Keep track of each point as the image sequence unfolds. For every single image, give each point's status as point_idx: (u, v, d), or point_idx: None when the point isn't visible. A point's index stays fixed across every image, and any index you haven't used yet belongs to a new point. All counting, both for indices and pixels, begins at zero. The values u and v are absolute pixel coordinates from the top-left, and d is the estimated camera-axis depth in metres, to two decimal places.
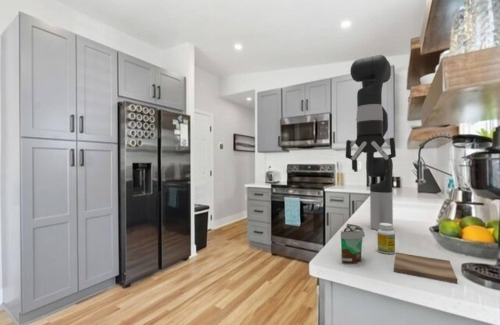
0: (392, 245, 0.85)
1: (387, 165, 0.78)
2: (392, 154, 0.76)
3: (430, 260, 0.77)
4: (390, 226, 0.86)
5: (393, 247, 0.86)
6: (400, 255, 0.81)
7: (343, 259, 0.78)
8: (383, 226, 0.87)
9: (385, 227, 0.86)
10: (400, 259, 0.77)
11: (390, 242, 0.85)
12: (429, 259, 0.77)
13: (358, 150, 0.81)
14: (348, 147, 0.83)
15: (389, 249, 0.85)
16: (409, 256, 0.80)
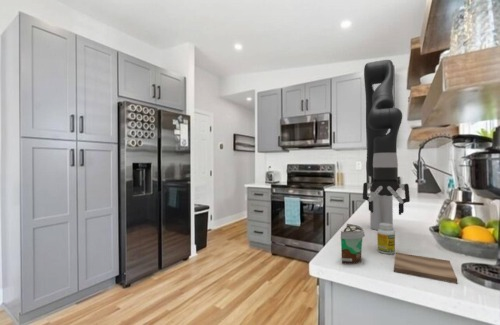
0: (392, 245, 0.85)
1: (402, 209, 0.85)
2: (407, 199, 0.84)
3: (430, 260, 0.77)
4: (390, 226, 0.86)
5: (393, 247, 0.86)
6: (400, 255, 0.81)
7: (343, 259, 0.78)
8: (383, 226, 0.87)
9: (385, 227, 0.86)
10: (400, 259, 0.77)
11: (390, 242, 0.85)
12: (429, 259, 0.77)
13: (375, 193, 0.88)
14: (365, 189, 0.90)
15: (389, 249, 0.85)
16: (409, 256, 0.80)
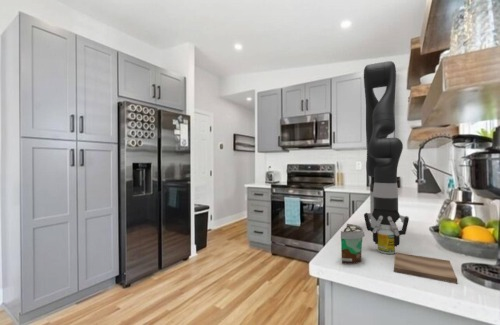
0: (392, 245, 0.85)
1: (398, 241, 0.85)
2: (402, 232, 0.84)
3: (430, 260, 0.77)
4: (390, 226, 0.86)
5: (393, 247, 0.86)
6: (400, 255, 0.81)
7: (343, 259, 0.78)
8: (383, 226, 0.87)
9: (385, 227, 0.86)
10: (400, 259, 0.77)
11: (390, 242, 0.85)
12: (429, 259, 0.77)
13: (377, 224, 0.88)
14: (367, 220, 0.90)
15: (389, 249, 0.85)
16: (409, 256, 0.80)
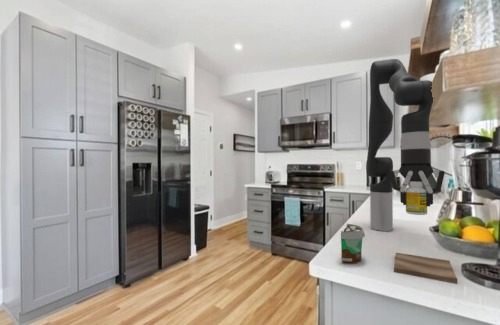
0: (424, 204, 0.73)
1: (431, 199, 0.73)
2: (437, 188, 0.72)
3: (430, 260, 0.77)
4: (421, 182, 0.74)
5: (425, 207, 0.73)
6: (400, 255, 0.81)
7: (343, 259, 0.78)
8: (412, 183, 0.74)
9: (415, 184, 0.74)
10: (400, 259, 0.77)
11: (422, 201, 0.73)
12: (429, 259, 0.77)
13: (405, 181, 0.75)
14: (393, 178, 0.78)
15: (421, 209, 0.73)
16: (409, 256, 0.80)
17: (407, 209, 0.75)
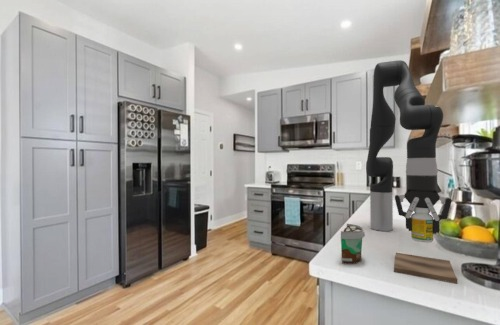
0: (430, 232, 0.72)
1: (437, 227, 0.72)
2: (443, 216, 0.71)
3: (430, 260, 0.77)
4: (428, 209, 0.72)
5: (432, 234, 0.72)
6: (400, 255, 0.81)
7: (343, 259, 0.78)
8: (419, 209, 0.73)
9: (422, 211, 0.72)
10: (400, 259, 0.77)
11: (429, 228, 0.72)
12: (429, 259, 0.77)
13: (411, 207, 0.74)
14: (399, 203, 0.76)
15: (427, 237, 0.72)
16: (409, 256, 0.80)
17: (413, 236, 0.74)
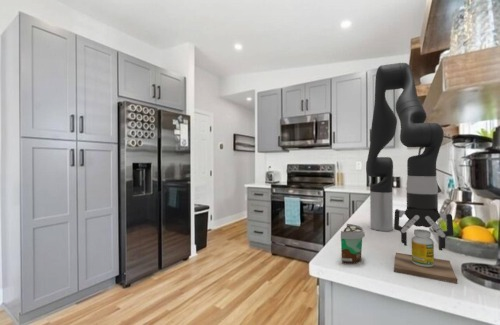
0: (430, 256, 0.72)
1: (443, 243, 0.71)
2: (450, 232, 0.70)
3: None
4: (428, 234, 0.72)
5: (432, 259, 0.72)
6: (400, 255, 0.81)
7: (343, 259, 0.78)
8: (419, 234, 0.73)
9: (422, 235, 0.72)
10: (400, 259, 0.77)
11: (429, 253, 0.72)
12: None
13: (409, 223, 0.74)
14: (397, 218, 0.76)
15: (428, 261, 0.72)
16: (409, 256, 0.80)
17: (413, 259, 0.74)
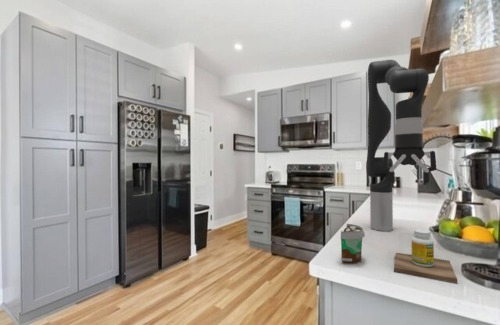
0: (430, 256, 0.72)
1: (427, 178, 0.78)
2: (433, 167, 0.77)
3: None
4: (428, 233, 0.72)
5: (432, 259, 0.72)
6: (400, 255, 0.81)
7: (343, 259, 0.78)
8: (419, 234, 0.73)
9: (422, 235, 0.72)
10: (400, 259, 0.77)
11: (429, 253, 0.72)
12: None
13: (397, 162, 0.81)
14: (386, 159, 0.83)
15: (428, 261, 0.72)
16: (409, 256, 0.80)
17: (413, 259, 0.74)
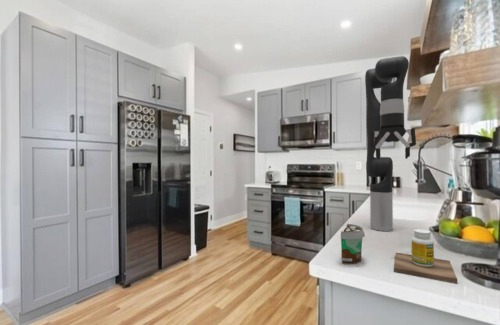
0: (430, 256, 0.72)
1: (408, 152, 0.88)
2: (413, 143, 0.87)
3: None
4: (428, 233, 0.72)
5: (432, 259, 0.72)
6: (400, 255, 0.81)
7: (343, 259, 0.78)
8: (419, 234, 0.73)
9: (422, 235, 0.72)
10: (400, 259, 0.77)
11: (429, 253, 0.72)
12: None
13: (382, 140, 0.91)
14: (372, 137, 0.93)
15: (428, 261, 0.72)
16: (409, 256, 0.80)
17: (413, 259, 0.74)
